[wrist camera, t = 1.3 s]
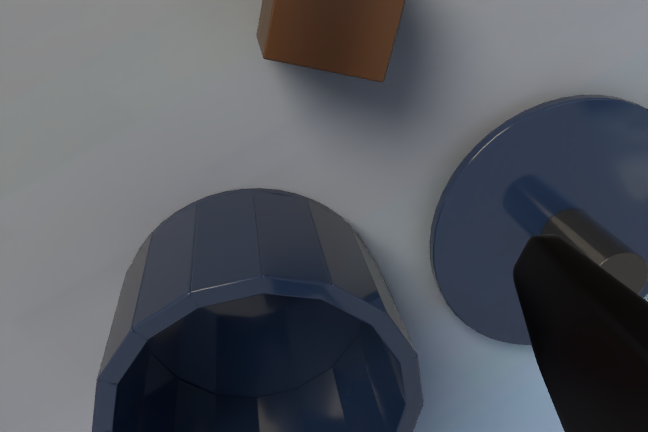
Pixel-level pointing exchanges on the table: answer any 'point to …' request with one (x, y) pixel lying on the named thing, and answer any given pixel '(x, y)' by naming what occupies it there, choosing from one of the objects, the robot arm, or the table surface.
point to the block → (331, 34)
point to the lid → (543, 205)
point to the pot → (256, 326)
